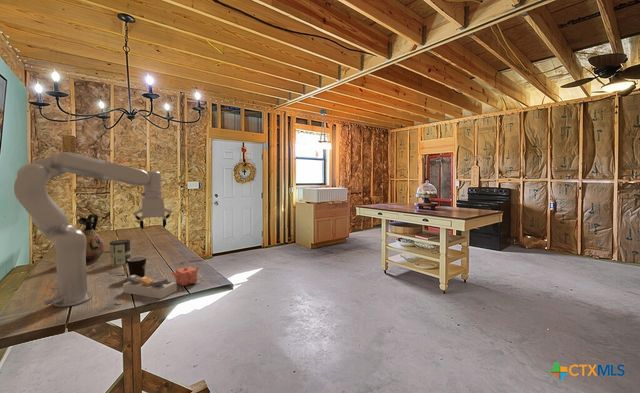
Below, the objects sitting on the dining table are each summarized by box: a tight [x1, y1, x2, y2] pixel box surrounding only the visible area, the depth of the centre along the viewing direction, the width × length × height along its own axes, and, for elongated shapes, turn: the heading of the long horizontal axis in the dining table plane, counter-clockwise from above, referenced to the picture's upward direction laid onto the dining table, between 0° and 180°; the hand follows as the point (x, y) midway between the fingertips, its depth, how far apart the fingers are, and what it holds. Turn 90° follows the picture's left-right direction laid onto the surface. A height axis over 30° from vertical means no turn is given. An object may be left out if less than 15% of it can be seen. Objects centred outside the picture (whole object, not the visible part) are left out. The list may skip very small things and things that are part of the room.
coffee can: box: [109, 239, 132, 267], centre depth 172 cm, size 10×10×14 cm
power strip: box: [122, 278, 178, 299], centre depth 132 cm, size 9×27×4 cm, turn 74°
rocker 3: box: [150, 278, 168, 286], centre depth 128 cm, size 4×6×2 cm, turn 74°
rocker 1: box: [126, 274, 142, 284], centre depth 132 cm, size 4×6×2 cm, turn 74°
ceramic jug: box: [78, 213, 105, 265], centre depth 176 cm, size 17×15×30 cm
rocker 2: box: [138, 275, 157, 286], centre depth 130 cm, size 4×6×2 cm, turn 74°
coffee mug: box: [127, 256, 147, 277], centre depth 151 cm, size 12×9×10 cm
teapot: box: [170, 265, 201, 287], centre depth 142 cm, size 12×15×8 cm
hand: (153, 227), depth 146 cm, fingers open, 9 cm apart
